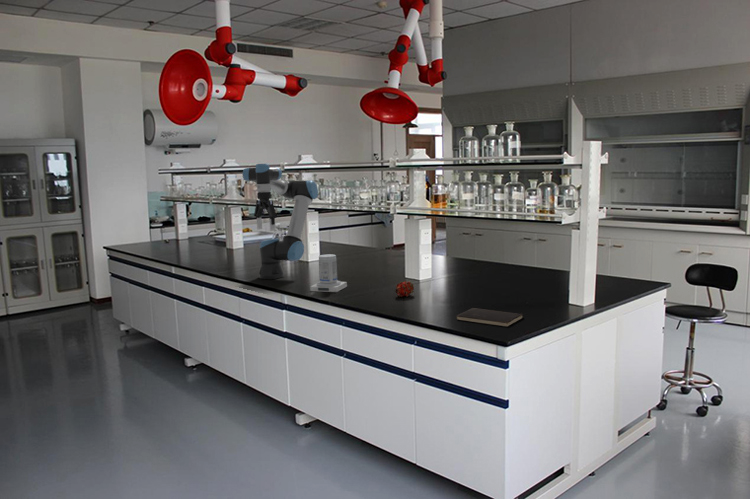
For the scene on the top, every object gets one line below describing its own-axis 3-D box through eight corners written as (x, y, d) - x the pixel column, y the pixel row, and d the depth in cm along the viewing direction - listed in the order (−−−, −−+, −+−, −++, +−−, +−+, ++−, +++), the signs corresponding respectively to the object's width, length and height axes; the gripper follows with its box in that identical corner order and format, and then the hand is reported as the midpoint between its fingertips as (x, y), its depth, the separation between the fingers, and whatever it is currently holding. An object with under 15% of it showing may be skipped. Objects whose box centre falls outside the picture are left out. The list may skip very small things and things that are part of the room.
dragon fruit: (415, 297, 300) (397, 304, 293) (405, 286, 304) (387, 293, 297) (420, 286, 294) (402, 293, 287) (410, 274, 299) (392, 281, 292)
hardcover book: (507, 328, 235) (507, 322, 235) (455, 320, 249) (455, 315, 248) (523, 319, 248) (523, 313, 247) (473, 312, 261) (473, 307, 261)
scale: (321, 285, 330) (321, 279, 330) (346, 286, 325) (346, 280, 325) (310, 291, 316) (310, 284, 315) (336, 292, 311) (336, 285, 311)
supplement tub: (332, 280, 327) (331, 253, 325) (340, 282, 319) (339, 255, 317) (316, 281, 322) (315, 255, 320) (323, 284, 314) (322, 257, 312)
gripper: (246, 191, 334) (248, 229, 337) (270, 192, 316) (272, 231, 318) (258, 191, 339) (260, 228, 342) (282, 191, 320) (284, 230, 323)
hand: (266, 229), depth 330 cm, fingers open, 13 cm apart
